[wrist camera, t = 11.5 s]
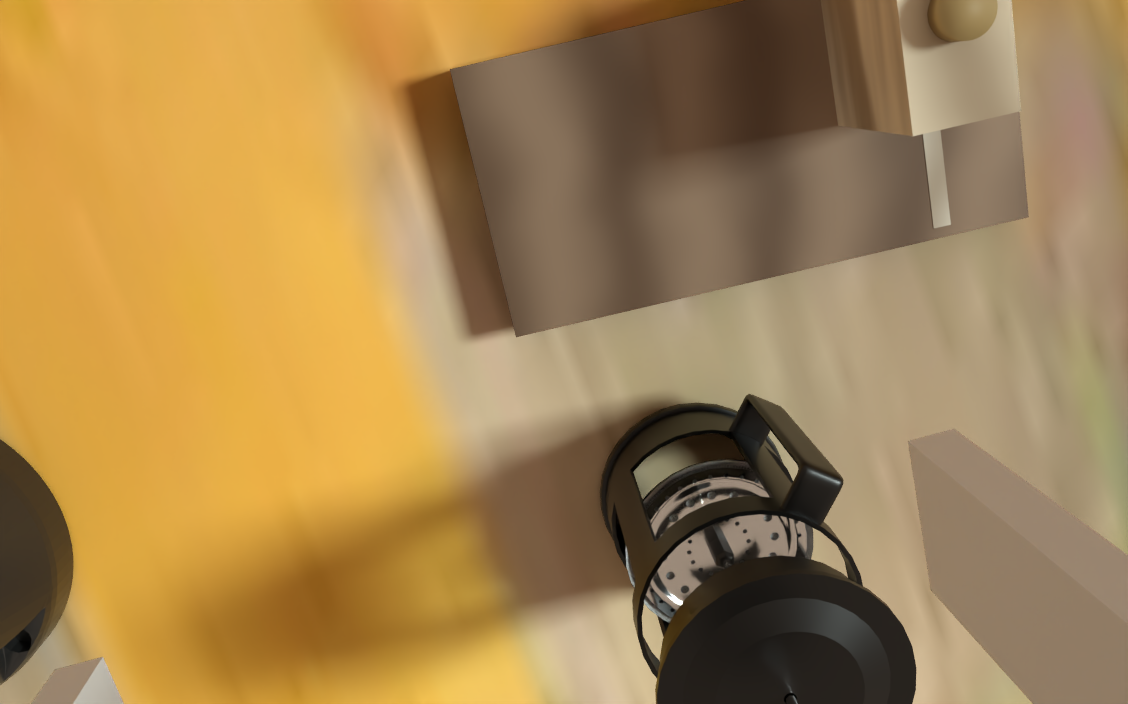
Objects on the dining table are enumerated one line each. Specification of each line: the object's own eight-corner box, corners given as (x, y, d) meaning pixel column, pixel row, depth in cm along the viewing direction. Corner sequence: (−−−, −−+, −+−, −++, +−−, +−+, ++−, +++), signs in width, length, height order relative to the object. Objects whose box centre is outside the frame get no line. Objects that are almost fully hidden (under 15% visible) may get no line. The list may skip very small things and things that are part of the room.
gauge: (827, 124, 44) (924, 138, 34) (802, -58, 42) (897, -100, 32) (913, 104, 44) (1035, 111, 34) (892, -79, 42) (1016, -127, 32)
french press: (727, 608, 51) (901, 1012, 29) (564, 547, 50) (617, 925, 27) (831, 413, 49) (1110, 694, 26) (663, 342, 47) (810, 578, 25)
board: (515, 326, 46) (516, 337, 44) (452, 69, 43) (449, 69, 41) (1006, 211, 46) (1028, 217, 44) (981, -54, 43) (1004, -60, 41)
